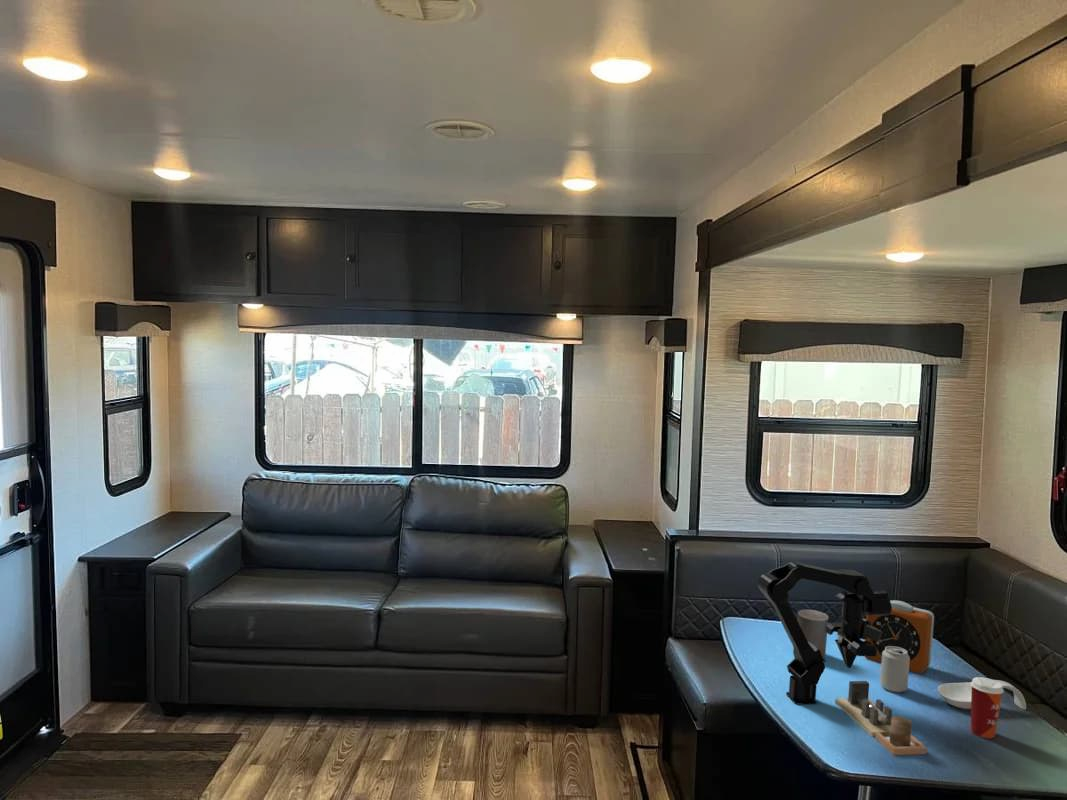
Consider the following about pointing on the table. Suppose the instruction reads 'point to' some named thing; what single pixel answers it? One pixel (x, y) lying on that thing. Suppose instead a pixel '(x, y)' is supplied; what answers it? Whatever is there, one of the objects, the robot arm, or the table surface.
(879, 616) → the alarm clock
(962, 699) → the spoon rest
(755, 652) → the table surface
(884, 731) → the beige piece
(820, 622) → the pillar candle
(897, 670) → the can
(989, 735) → the paper cup
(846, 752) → the table surface
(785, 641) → the table surface
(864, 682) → the shaft
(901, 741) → the brown dome-ended cylinder
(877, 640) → the robot arm
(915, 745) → the picture frame
